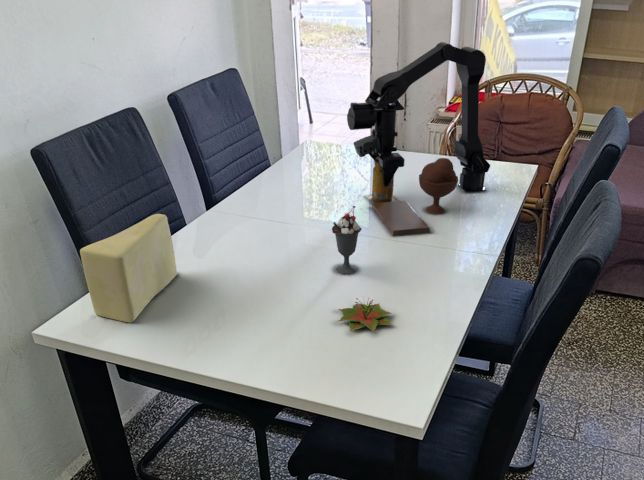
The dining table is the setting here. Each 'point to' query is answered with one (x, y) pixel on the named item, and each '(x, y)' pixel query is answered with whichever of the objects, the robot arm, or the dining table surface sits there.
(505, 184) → the dining table surface
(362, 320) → the lily flower
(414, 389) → the dining table surface
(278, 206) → the dining table surface
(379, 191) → the condiment
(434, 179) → the ice cream bowl
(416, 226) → the walnut board
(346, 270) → the sundae
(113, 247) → the cheese
